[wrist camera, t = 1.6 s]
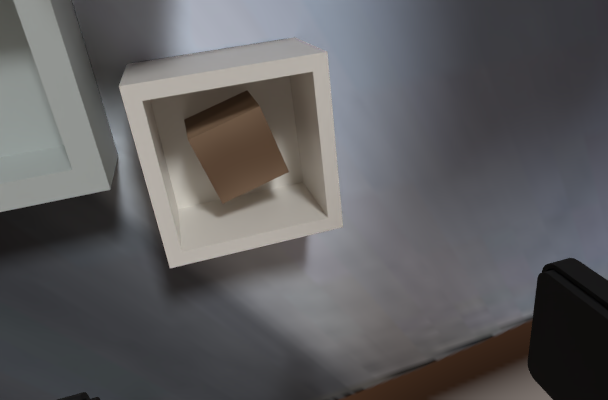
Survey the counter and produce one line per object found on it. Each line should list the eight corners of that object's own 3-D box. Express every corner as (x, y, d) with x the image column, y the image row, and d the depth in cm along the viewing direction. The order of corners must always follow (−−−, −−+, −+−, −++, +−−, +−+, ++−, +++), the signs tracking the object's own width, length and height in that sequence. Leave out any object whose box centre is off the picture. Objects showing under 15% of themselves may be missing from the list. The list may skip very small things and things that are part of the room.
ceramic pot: (126, 63, 24) (118, 86, 19) (294, 37, 25) (327, 51, 20) (167, 216, 27) (169, 268, 22) (312, 185, 29) (342, 227, 24)
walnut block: (184, 119, 25) (187, 140, 21) (247, 89, 25) (259, 106, 22) (215, 177, 26) (222, 204, 23) (274, 149, 26) (289, 171, 23)
